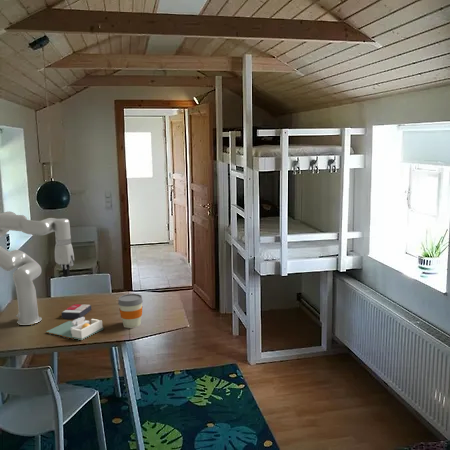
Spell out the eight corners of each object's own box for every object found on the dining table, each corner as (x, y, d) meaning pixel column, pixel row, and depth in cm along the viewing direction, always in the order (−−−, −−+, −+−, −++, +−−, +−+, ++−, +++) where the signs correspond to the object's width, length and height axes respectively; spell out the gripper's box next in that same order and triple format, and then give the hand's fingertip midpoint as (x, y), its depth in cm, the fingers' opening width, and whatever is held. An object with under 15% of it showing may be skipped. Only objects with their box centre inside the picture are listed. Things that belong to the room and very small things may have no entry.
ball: (86, 326, 240) (86, 334, 242) (93, 323, 244) (92, 331, 246) (80, 323, 242) (79, 331, 243) (86, 320, 246) (85, 328, 247)
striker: (69, 333, 242) (68, 323, 241) (84, 325, 252) (83, 315, 251) (74, 334, 241) (73, 324, 240) (89, 326, 250) (89, 316, 249)
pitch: (46, 333, 247) (45, 331, 246) (69, 322, 261) (68, 320, 260) (81, 341, 236) (81, 339, 236) (103, 329, 250) (103, 327, 250)
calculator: (91, 304, 279) (79, 312, 265) (91, 311, 280) (79, 319, 265) (73, 303, 281) (60, 311, 266) (74, 310, 282) (61, 318, 267)
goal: (72, 336, 239) (71, 329, 238) (93, 325, 252) (92, 318, 251) (82, 338, 236) (81, 331, 235) (102, 327, 249) (102, 320, 248)
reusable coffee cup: (118, 322, 258) (116, 295, 256) (141, 318, 263) (139, 292, 260) (122, 330, 247) (119, 302, 244) (146, 326, 251) (144, 299, 249)
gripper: (48, 242, 253) (51, 276, 256) (68, 244, 245) (71, 279, 249) (59, 239, 259) (62, 272, 262) (79, 241, 252) (82, 275, 255)
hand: (66, 275), depth 255 cm, fingers closed
